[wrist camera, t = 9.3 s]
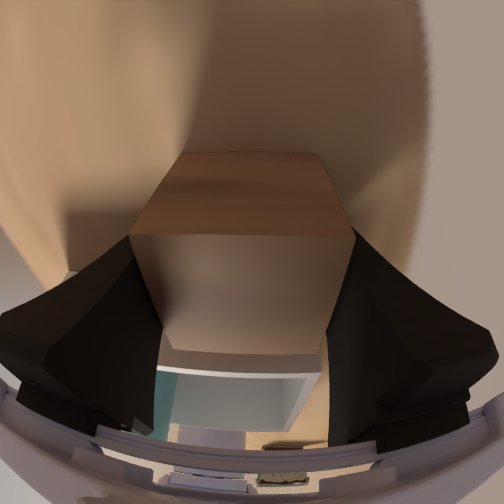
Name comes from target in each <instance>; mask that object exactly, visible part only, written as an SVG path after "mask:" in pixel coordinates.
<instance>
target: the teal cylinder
mask: <svg viewBox="0 0 504 504" xmlns="http://www.w3.org/2000/svg"><path fill="white" fill-rule="evenodd" d="M177 378H178V373H176V372H168V371H160V370H157V372H156V382H155V395H154V431H153V432H152V433H151V434H149V435H147V436H143V437H147V438H152V439H157V440H162V441H167V438H168V431H169V424H170V418H171V412H172V406H173V400H174V394H175V389H176V383H177ZM123 432H125V431H123ZM126 433H129V432H126ZM130 434H134V433H130ZM134 435H138V434H134ZM138 436H142V435H138Z"/></svg>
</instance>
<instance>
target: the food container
mask: <svg viewBox="0 0 504 504" xmlns="http://www.w3.org/2000/svg"><path fill="white" fill-rule="evenodd" d="M302 449H303V446H262V451H274V450H302ZM254 480H255V484H257V487H287V486H303V485H308V482H309V477H307V474H306V472H302V473H283V474H258V479H256V478H255V479H254Z"/></svg>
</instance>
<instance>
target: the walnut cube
mask: <svg viewBox="0 0 504 504" xmlns="http://www.w3.org/2000/svg"><path fill="white" fill-rule="evenodd" d="M128 236H129V239H130V242H131V245H132V248H133V251H134V254H135V257H136V259H137V262H138V265H139V268H140V271H141V273H142V276H143V279H144V281H145V284H146V287H147V289H148V292H149V294H150V297H151V299H152V302H153V304H154V307H155V309H156V312H157V314H158V316H159V319H160V321H161V323H162V326H163V328H164V330H165V332H166V335H167V337H168V339H169V341H170V343H171V346H172V348H173V349H177V350H188V351H200V352H214V353H232V354H267V355H292V354H317V353H318V350H319V348H320V345H321V342H322V340H323V337H324V335H325V332H326V329H327V327H328V324H329V321H330V318H331V316H332V313H333V310H334V307H335V304H336V301H337V298H338V295H339V292H340V289H341V286H342V283H343V280H344V277H345V274H346V270H347V267H348V264H349V260H350V257H351V254H352V250H353V247H354V243H355V240H356V237H355V234H354V232H353V229H352V227H351V225H350V222H349V220H348V218H347V215H346V213H345V211H344V208H343V206H342V204H341V202H340V200H339V197H338V195H337V193H336V191H335V189H334V187H333V184H332V182H331V180H330V178H329V176H328V174H327V172H326V170H325V168H324V166H323V164H322V162H321V160H320V158H319V156H318V154H306V153H286V152H201V153H181V155H180V156H179V157H178V159H177V160H176V161H175V163H174V164H173V166H172V167H171V168H170V170H169V171H168V173H167V174H166V176H165V177H164V178H163V180H162V181H161V183H160V184H159V186H158V187H157V189H156V190H155V192H154V193H153V195H152V196H151V198H150V199H149V201H148V203H147V204H146V206H145V207H144V209H143V210H142V212H141V214H140V215H139V217H138V218H137V220H136V222H135V223H134V225H133V227H132V228H131V230H130V232H129V233H128Z"/></svg>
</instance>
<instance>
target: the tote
mask: <svg viewBox="0 0 504 504" xmlns="http://www.w3.org/2000/svg"><path fill="white" fill-rule="evenodd" d="M77 273H78V272H77V271H68V273H67V274H66V276H65V278H64V279H63V281H62V282H64V281H66V280H67V279H69V278H70V277H72V276H74V275H75V274H77ZM157 370H160V371H168V372H176V373H178V378H177V383H176V389H175V394H174V400H173V406H172V412H171V418H170V424H174V425H181V426H188V427H196V428H205V429H215V430H228V431H248V432H288V431H289V430H290V428H291V426H292V425H293V423H294V421H295V420H296V418H297V416H298V415H299V413H300V411H301V410H302V408H303V406H304V404H305V403H306V401H307V399H308V397H309V396H310V394H311V392H312V390H313V388H314V386H315V385H316V383H317V381H318V379H319V377H320V375H321V373H322V369H321V360H320V351H319V350H318V353H317V354H292V355H267V354H232V353H214V352H200V351H188V350H177V349H173V348H172V346H171V343H170V341H169V339H168V337H167V335H166V332H165V330H164V328H163V332H162V338H161V344H160V350H159V356H158V364H157Z"/></svg>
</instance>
